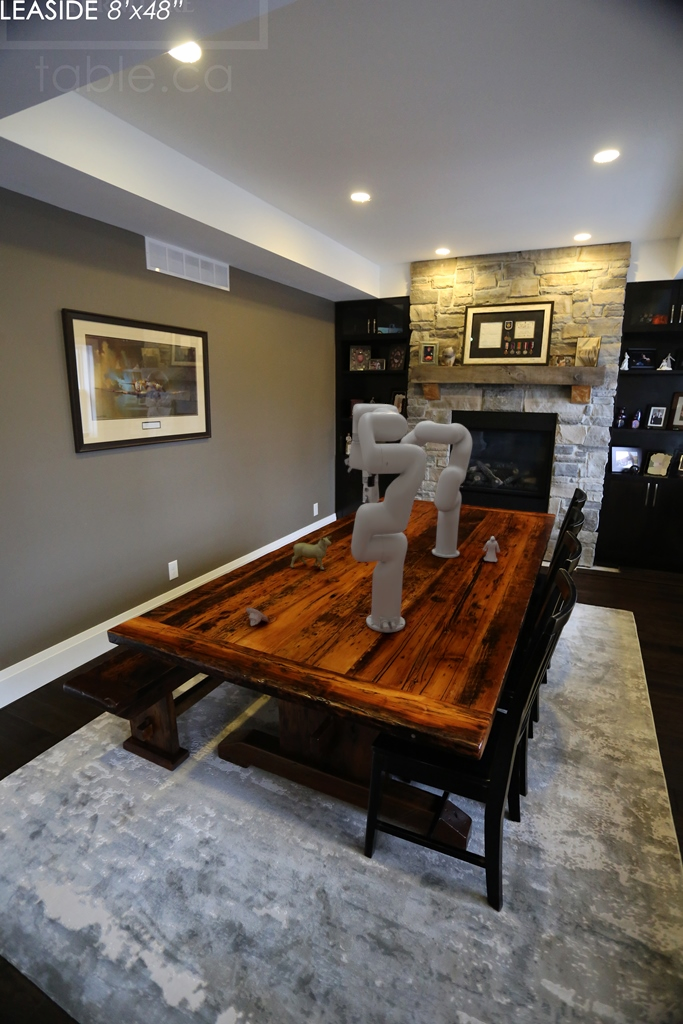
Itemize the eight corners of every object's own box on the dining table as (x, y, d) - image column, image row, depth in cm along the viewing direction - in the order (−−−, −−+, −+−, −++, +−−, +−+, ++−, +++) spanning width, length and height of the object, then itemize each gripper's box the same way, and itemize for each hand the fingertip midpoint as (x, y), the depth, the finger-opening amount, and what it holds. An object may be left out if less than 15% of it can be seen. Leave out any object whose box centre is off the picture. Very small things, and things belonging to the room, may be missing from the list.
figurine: (481, 562, 222) (483, 536, 219) (482, 556, 230) (484, 531, 227) (499, 564, 220) (501, 538, 217) (499, 558, 228) (501, 533, 225)
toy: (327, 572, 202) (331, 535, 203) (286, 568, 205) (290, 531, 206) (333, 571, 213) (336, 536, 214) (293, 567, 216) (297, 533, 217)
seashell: (251, 634, 162) (235, 615, 161) (262, 623, 165) (246, 604, 164) (262, 630, 156) (245, 610, 155) (273, 618, 159) (257, 599, 158)
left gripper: (387, 440, 178) (385, 487, 182) (353, 436, 190) (352, 480, 194) (373, 441, 173) (371, 489, 177) (338, 437, 185) (338, 482, 189)
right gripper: (370, 483, 232) (371, 519, 236) (384, 477, 247) (384, 511, 251) (355, 482, 236) (356, 518, 239) (370, 477, 251) (370, 510, 254)
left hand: (361, 484), depth 186 cm, fingers open, 9 cm apart
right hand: (370, 514), depth 245 cm, fingers open, 9 cm apart
